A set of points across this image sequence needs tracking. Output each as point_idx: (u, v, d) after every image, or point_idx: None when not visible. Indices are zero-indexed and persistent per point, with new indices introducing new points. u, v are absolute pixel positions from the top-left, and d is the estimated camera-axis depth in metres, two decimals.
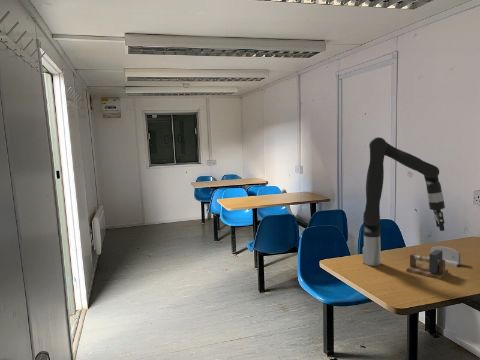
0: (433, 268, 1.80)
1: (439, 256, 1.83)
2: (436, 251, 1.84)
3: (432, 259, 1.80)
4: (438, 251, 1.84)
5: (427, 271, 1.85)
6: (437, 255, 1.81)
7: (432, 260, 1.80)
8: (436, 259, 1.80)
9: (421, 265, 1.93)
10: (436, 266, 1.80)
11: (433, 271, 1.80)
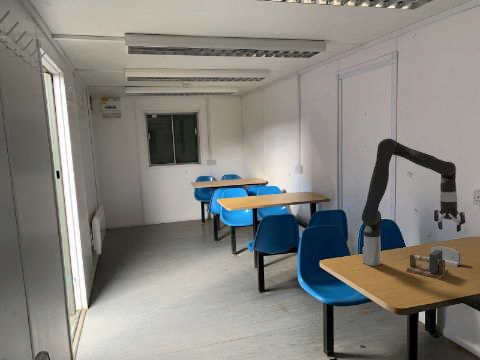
0: (433, 268, 1.80)
1: (439, 256, 1.83)
2: (436, 251, 1.84)
3: (432, 259, 1.80)
4: (438, 251, 1.84)
5: (427, 271, 1.85)
6: (437, 255, 1.81)
7: (432, 260, 1.80)
8: (436, 259, 1.80)
9: (421, 265, 1.93)
10: (436, 266, 1.80)
11: (433, 271, 1.80)
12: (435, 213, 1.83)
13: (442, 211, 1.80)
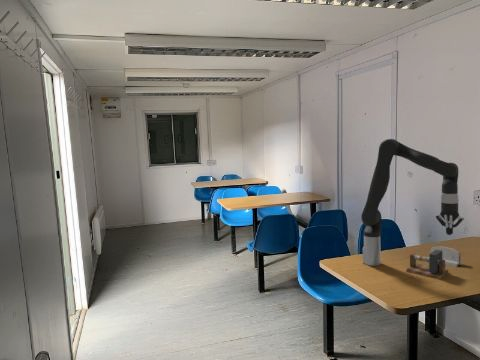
0: (433, 268, 1.80)
1: (439, 256, 1.83)
2: (436, 251, 1.84)
3: (432, 259, 1.80)
4: (438, 251, 1.84)
5: (427, 271, 1.85)
6: (437, 255, 1.81)
7: (432, 260, 1.80)
8: (436, 259, 1.80)
9: (421, 265, 1.93)
10: (436, 266, 1.80)
11: (433, 271, 1.80)
12: (438, 218, 1.79)
13: (442, 212, 1.78)
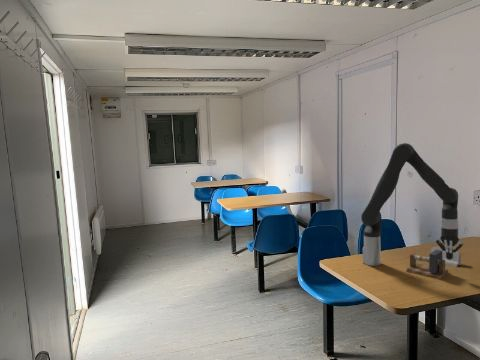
0: (433, 268, 1.80)
1: (439, 256, 1.83)
2: (436, 251, 1.84)
3: (432, 259, 1.80)
4: (438, 251, 1.84)
5: (427, 271, 1.85)
6: (437, 255, 1.81)
7: (432, 260, 1.80)
8: (436, 259, 1.80)
9: (421, 265, 1.93)
10: (436, 266, 1.80)
11: (433, 271, 1.80)
12: (438, 243, 1.81)
13: (442, 237, 1.79)
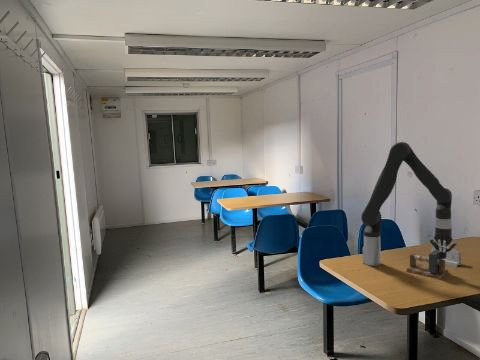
0: (432, 268, 1.81)
1: (439, 256, 1.83)
2: (436, 251, 1.85)
3: (432, 259, 1.80)
4: (438, 251, 1.84)
5: (427, 271, 1.85)
6: (437, 255, 1.81)
7: (432, 260, 1.80)
8: (436, 259, 1.80)
9: (421, 265, 1.93)
10: (436, 266, 1.80)
11: (433, 271, 1.81)
12: (432, 242, 1.83)
13: (436, 237, 1.81)
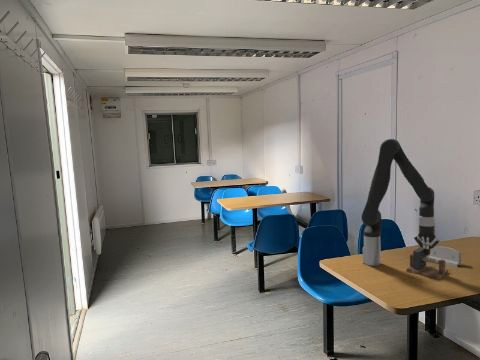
0: (416, 265, 1.87)
1: (423, 253, 1.89)
2: (420, 248, 1.91)
3: (416, 256, 1.86)
4: (422, 248, 1.90)
5: (427, 271, 1.85)
6: (421, 252, 1.87)
7: (416, 257, 1.86)
8: (420, 256, 1.86)
9: None
10: (420, 263, 1.87)
11: (417, 267, 1.87)
12: (416, 240, 1.89)
13: (419, 234, 1.87)
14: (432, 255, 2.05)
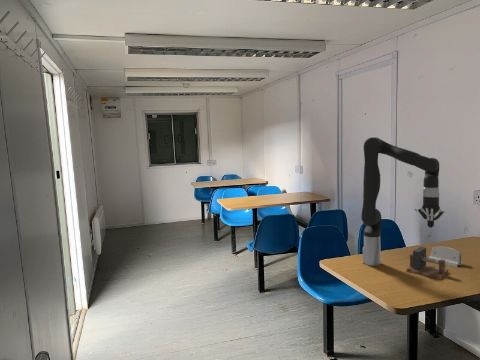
0: (416, 265, 1.87)
1: (422, 253, 1.89)
2: (420, 248, 1.91)
3: (416, 256, 1.86)
4: (422, 248, 1.90)
5: (427, 271, 1.85)
6: (421, 252, 1.87)
7: (416, 257, 1.86)
8: (419, 256, 1.86)
9: None
10: (419, 263, 1.87)
11: (417, 267, 1.87)
12: (420, 212, 1.86)
13: (423, 206, 1.84)
14: (432, 255, 2.05)
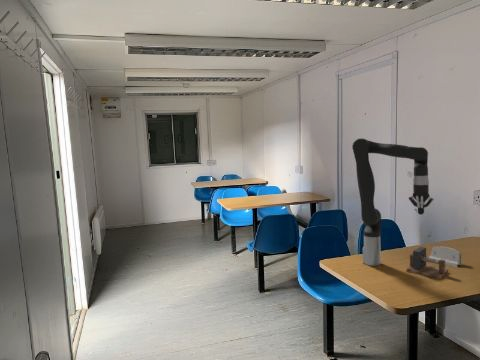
0: (416, 265, 1.87)
1: (422, 253, 1.89)
2: (420, 248, 1.91)
3: (416, 256, 1.86)
4: (422, 248, 1.90)
5: (427, 271, 1.85)
6: (421, 252, 1.87)
7: (416, 257, 1.86)
8: (419, 256, 1.86)
9: None
10: (419, 263, 1.87)
11: (417, 267, 1.87)
12: (411, 199, 1.93)
13: (414, 194, 1.91)
14: (432, 255, 2.05)
